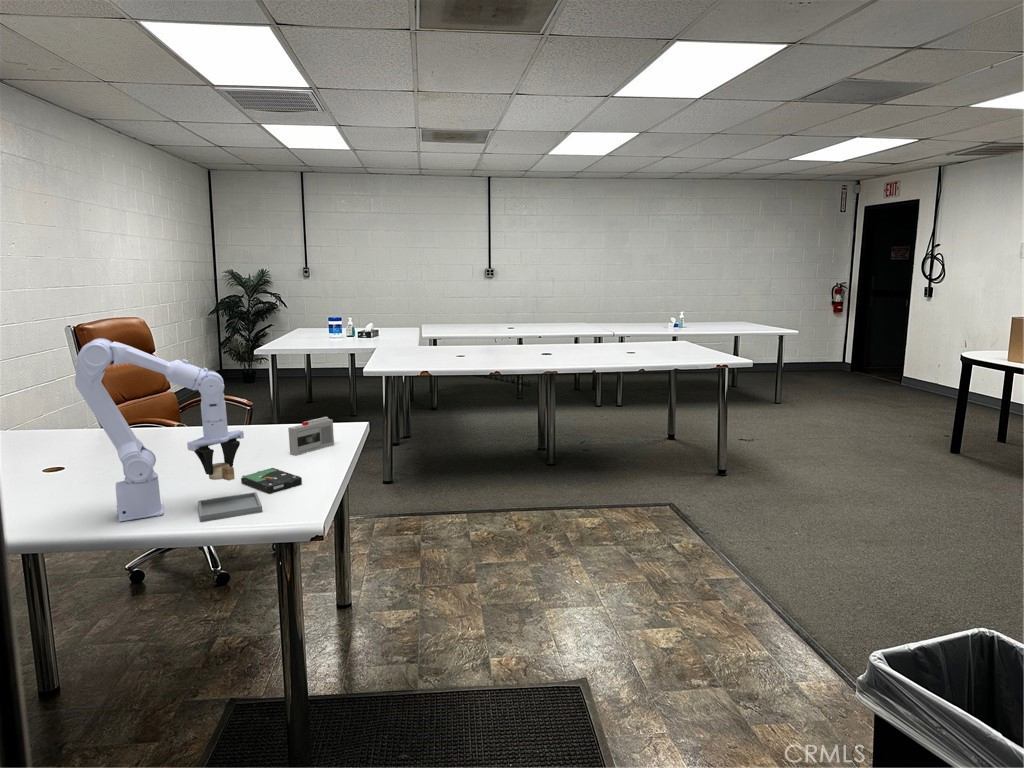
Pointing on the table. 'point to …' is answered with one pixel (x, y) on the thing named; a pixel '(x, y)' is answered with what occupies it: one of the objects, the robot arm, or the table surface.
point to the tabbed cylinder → (222, 472)
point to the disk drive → (271, 480)
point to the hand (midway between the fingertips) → (219, 471)
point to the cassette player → (311, 436)
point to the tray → (229, 506)
